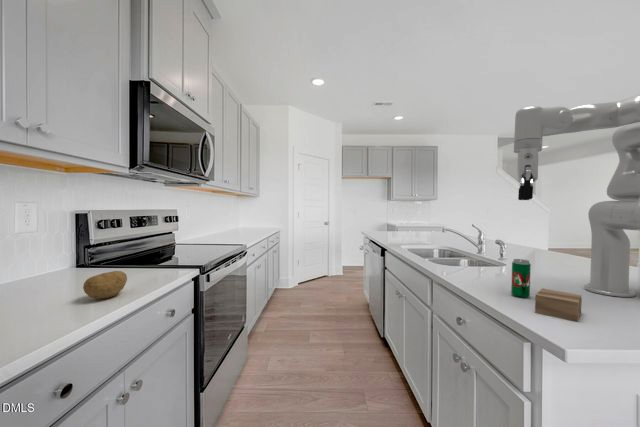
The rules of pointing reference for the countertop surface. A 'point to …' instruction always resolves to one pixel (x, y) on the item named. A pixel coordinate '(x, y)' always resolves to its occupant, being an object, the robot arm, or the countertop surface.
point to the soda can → (521, 278)
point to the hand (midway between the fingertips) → (524, 199)
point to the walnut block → (558, 304)
